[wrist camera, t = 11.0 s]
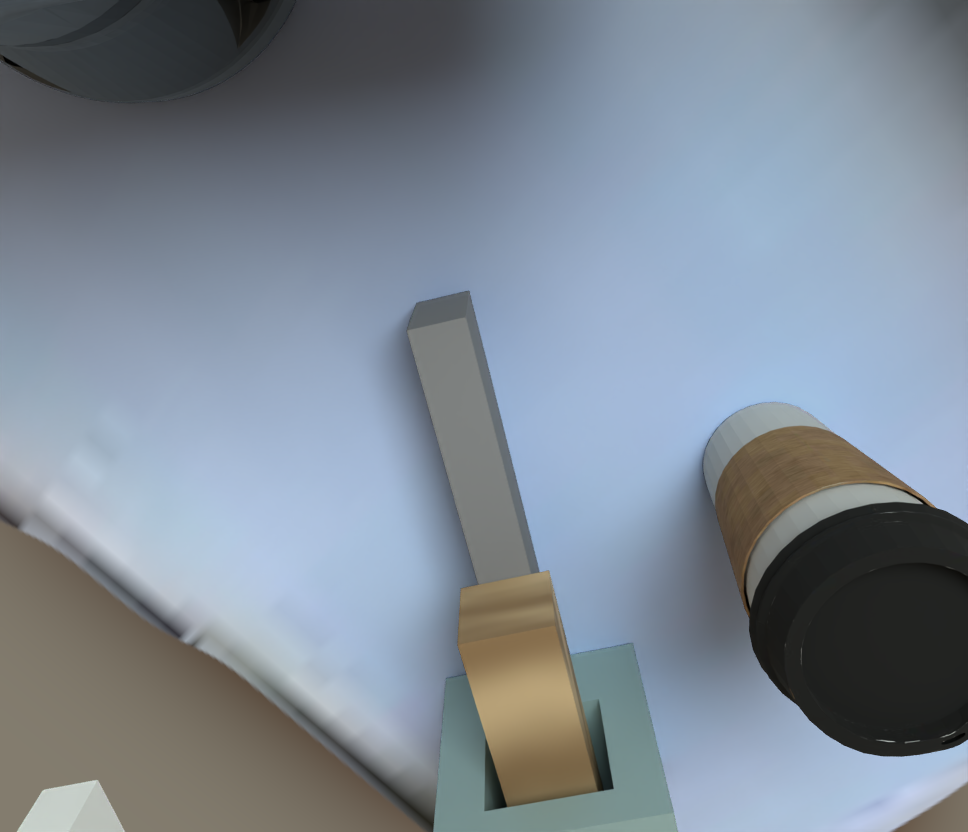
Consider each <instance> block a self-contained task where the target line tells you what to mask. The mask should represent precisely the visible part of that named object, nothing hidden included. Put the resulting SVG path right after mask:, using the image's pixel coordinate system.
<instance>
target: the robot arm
mask: <svg viewBox="0 0 968 832" xmlns="http://www.w3.org/2000/svg"><path fill="white" fill-rule="evenodd" d="M295 2H296V0H0V61H1V62H3V63H4V64H6V65H7V66H9V67H10V68H12V69H14V70H15V71H17V72H19V73H20V74H22V75H24V76H26V77H28V78H30V79H32V80H34V81H36V82H38V83H41V84H43V85H45V86H48V87H50V88H53V89H56V90H59V91H61V92H64V93H68V94H71V95H75V96H79V97H82V98H87V99H92V100H98V101H106V102H117V103H135V102H153V101H165V100H172V99H177V98H182V97H186V96H189V95H193V94H196V93H199V92H202V91H204V90H207V89H209V88H212V87H214V86H216V85H218V84H219V83H221V82H223V81H225V80H227V79H228V78H230V77H232V76H233V75H235V74H236V73H238V72H239V71H240V70H242V69H243V68H244V67H246V66H247V65H248V64H249V63H250V62H251V61H253V60H254V59H255V58H256V57H257V56H258V55H259V54H260V53H261V52H262V51H263V50H264V49H265V48H266V47H267V45H268V44H269V43H270V42H271V41H272V39H273V38H274V37H275V36H276V34H277V33H278V31H279V30H280V28H281V27H282V25H283V24H284V22H285V21H286V19H287V17H288V15H289V14H290V12H291V10H292V8H293V6H294V4H295ZM17 832H125V831H124V829H123V827H122V825H121V823H120V821H119V819H118V817H117V816H116V814H115V812H114V810H113V808H112V806H111V804H110V802H109V800H108V798H107V796H106V794H105V793H104V791H103V789H102V787H101V785H100V783H99V781H98V780H94V781H89V782H84V783H78V784H73V785H67V786H61V787H56V788H50V789H45V790H43V791H42V792H41V794H40V796H39V797H38V799H37V800H36V802H35V804H34V805H33V807H32V808H31V810H30V812H29V813H28V815H27V816H26V818H25V819H24V821H23V823H22V824H21V826H20V827H19V829H18V830H17Z"/></svg>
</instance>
